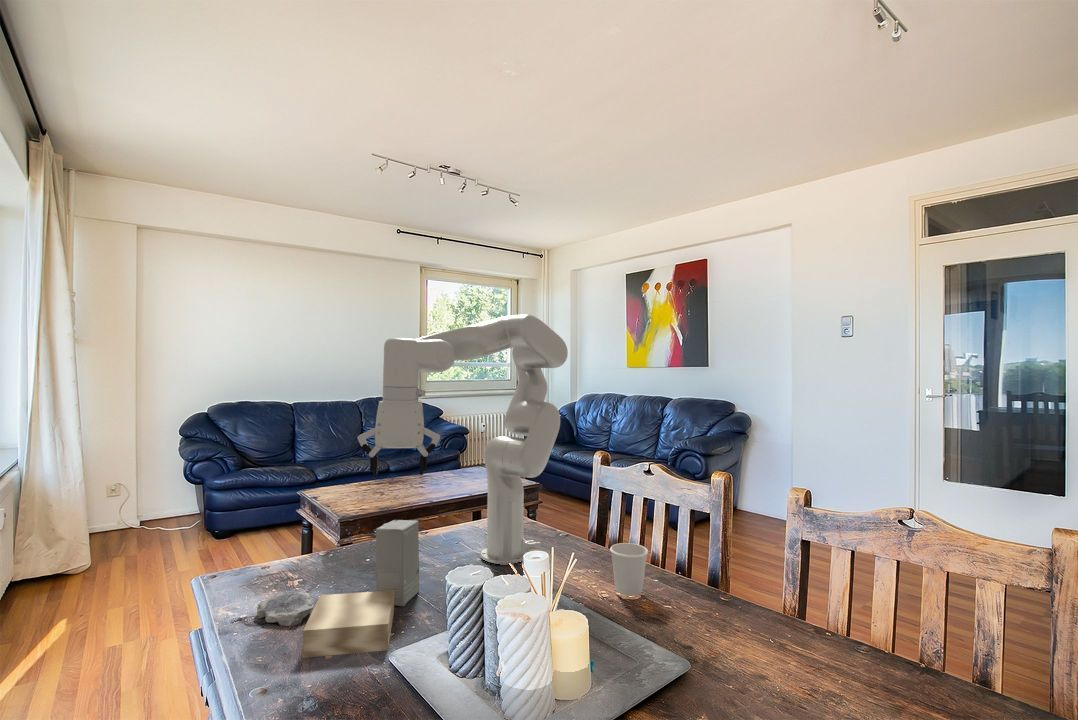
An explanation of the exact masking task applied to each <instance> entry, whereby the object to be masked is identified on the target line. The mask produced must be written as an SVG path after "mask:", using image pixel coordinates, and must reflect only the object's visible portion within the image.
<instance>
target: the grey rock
mask: <svg viewBox="0 0 1078 720" xmlns="http://www.w3.org/2000/svg"><path fill="white" fill-rule="evenodd" d="M314 607H315V605H314V600H313V599H312V598H311V595H310V593H309V592H303V591H299V592H298V591H294V592H287V593H286V592H285V593H281V594H274V595H272V596H271V597H269V598H266V599H265V600H261V601H260V602H259V603H258V604H257V607H256V615H257V618H258V620H259V619H260V620H261V619H263V618H264V620H265V622H266V623H269V624H270V623H278V624H279V626H284V627H293V626H297V625H300V624H301V623H302V621H303V619H304V618H305V617H307V616H308V615H309V614H310V613H312V611H313V610H314Z"/></svg>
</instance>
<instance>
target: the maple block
mask: <svg viewBox="0 0 1078 720" xmlns="http://www.w3.org/2000/svg"><path fill="white" fill-rule="evenodd" d="M394 613H395V605H394V590H390V591H377V590H376V591H364V592H363V591H362V592H349V593H333V594H321V595H319V598H318V599H317V601H316V604H315V605H314V607H313V609H312V611H311V613H310V615H309V617H308V620H307V622H306V624H305V625H304V628H303V629H302V655H301V657H302V658H303V659H304V658H316V657H327V656H336V655H337V656H338V655H349V654H358V653H360V654H361V653H369V652H370V653H371V652H372V653H373V652H382V651H389V646H390V639H391V632H392V628H393V627H392V626H393V621H394V615H395V614H394Z"/></svg>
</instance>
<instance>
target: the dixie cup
mask: <svg viewBox="0 0 1078 720" xmlns="http://www.w3.org/2000/svg"><path fill="white" fill-rule="evenodd" d="M609 548H610V549H609V550H610V552H611V561H612V569H613V570H612V571H613V578H614V579H613V580H614V581H613V582H614V588H615V590H616V591H617V592H618V593H620V594H623V595H628V596H632V595H637V594H640V593H641V592H642V593H643V588H644V587H643V586H644V582H645V581H644V580H645V573H646V565H647V559H648V558H647V557H648V554H649V550H648V548H647V547H645V546H643V545H641V544H637V543H633V542H632V543H631V542H620V543H615V544H613V545H611V547H609ZM615 590H614V591H615ZM616 591H615V592H616Z"/></svg>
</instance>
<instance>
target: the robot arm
mask: <svg viewBox="0 0 1078 720" xmlns="http://www.w3.org/2000/svg"><path fill="white" fill-rule="evenodd" d="M508 349H512V350H511V351H512V353H511V354H512V359H513V362H514V364H515V365H514V366H515V367H516V370H517V376H518V380H517V385H516V388H515V391H514V393H513V395H512V398H511V400H510V403H509V405H508V408H507V410H506V413H505V415H504V420H503V423H504V427H505V428H504V429H506V430H507V432H508V433H511V434H513V435H517V436H507V435H500V436H495V437H493V438H491V439H490V440H489V441H488V443H486V445H485V448H484V452H483V454H484V455H483V457H484V465H485V469H486V471H485V472H486V478H487V503H486V504H487V513H486V517H487V518H486V519H487V520H486V521H487V522H486V525H487V526H486V548H483V549H482V550H481V552H480V558H482V559H483V560H485V561H488V562H492V563H496V564H500V565H499V566H509V565H508V564H507V562H511V563H516V562H520V561H522V557H523V555H524V554H525V552H526V551H527V552H529V551H530V550H534V551H536V550H541V549H542V543H541V541H535V540H534V539H529V540H526V539H525V537H524V504H525V503H524V496H525V491H524V484H523V480H522V477H524V478H532V479H533V478H536V477H539V476H540V475H541V473H543V471H544V470H545V469H546V466H547V464H548V462H549V459H550V456H551V454H552V451H553V448H554V446H555V442H556V440H557V437H558V434H559V431H560V427H561V414H560V411H559V409H558V407H556V406H555V405H554V404H553V403H551V402H547V401H545V399H546V396H547V393H548V383H547V379H546V377H545V375H544V372H543V371H542V369H555V368H556V369H557V368H560V367H562V366H563V365H565V363H566V362H567V359H568V354H569V353H568V352H569V350H568V346H567V344H566V342H565V341H564V339H563V338H562V337H561V336H560V334H558V333H557V332H556V331H554V330H553V329H552V328H550V327H549V326H548V325H547V324H546V323H545V322H543V320H541V319H539V318H538V317H536V316H535V315H532V314H528V313H526V314H514V315H505V316H500V317H497V318H496V317H495V318H492V319H490V320H486V321H482V322H479V323H474V324H471V325H467V326H462V327H457V328H454V329H451V330H446V331H441V332H438V333H434V334H433V333H432V334H430V335H426V336H425V335H424V336H421V337H419V338H406V337H405V338H404V337H392V338H388V339H387V340H385V341H384V345H383V367H382V369H383V371H382V372H383V373H382V376H383V377H382V379H383V380H382V400H379V402H378V405H377V411H376V418H375V427H373V428H371V429H369V430H367V431H365V432H363V433H361V434H359V435H357V438H356V439H357V440H358V443H359V445H360V446H361V449H362V451H364V452H365V453H366V454H367V455H368V457H369V459H370V460H369V462H370V464H369V472H372V477H376V476H377V475H378V474H379V456H378V453H379V452H380V450H381V449H417V450H418V451H419V452H420V456H419V476H423V475H424V471H425V472H426V471H427V463H428V462H427V460H428V459H427V457H428V455H429V454H430V453H431V452H432V451H433V450H435V449H436V446H437V445H438V443H439V441H440V439H441V435H440V434H438V433H436V432H434V431H433V430H430V429H428V428H427V427H425V423H424V421H425V420H424V419H425V418H424V408H423V407H424V406H423V402H422V401H421V400H419V398H421V397H426V390H424V389H420V388H419V385H420V373H433V374H434V373H438V374H439V373H443V372H446V371H447V370H449V369H450V368H451V367H453V365H454V364H455V362H456V361H457V362H458V361H471V360H478V359H481V358H485V357H488V356H491V355H494V354H496V353H498V352H499V353H500V352H502V351H505V350H508ZM518 435H519V436H524V437H526V438H523V437H522V438H521V437H518ZM371 436H374V445H375V446H374V447H372V446H371V445H370V444H368V442H367V439H368V438H370V437H371ZM425 436H427V437H429V438H430V439H431V440H432V441H431V442H430V443H429V445H427V446H426V447H425V445H424V444H423V443H424V439H425ZM482 559H481V560H482ZM483 560H482V561H483ZM485 561H484V562H485Z"/></svg>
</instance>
